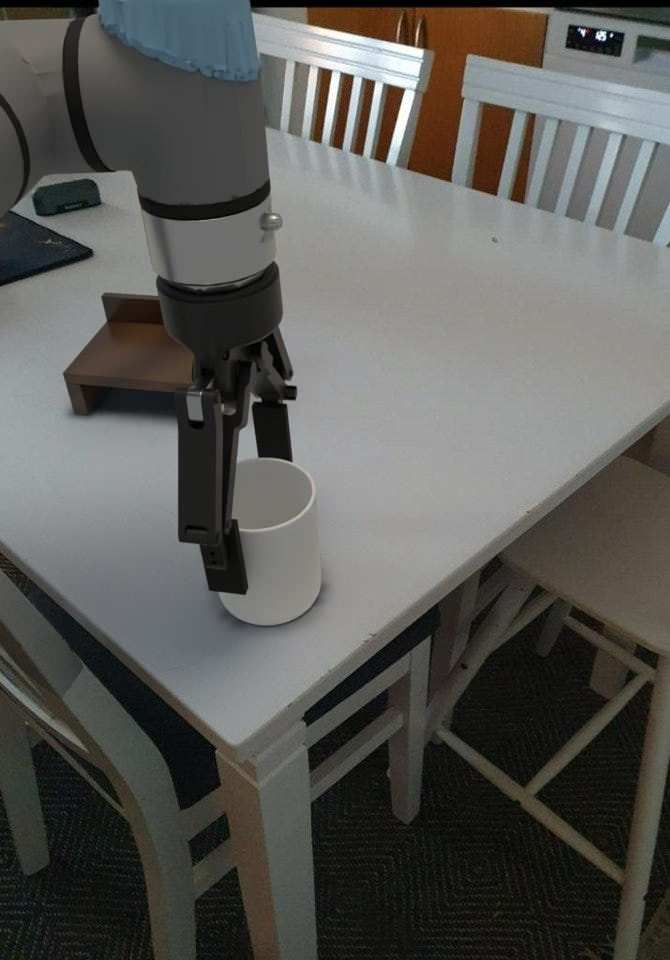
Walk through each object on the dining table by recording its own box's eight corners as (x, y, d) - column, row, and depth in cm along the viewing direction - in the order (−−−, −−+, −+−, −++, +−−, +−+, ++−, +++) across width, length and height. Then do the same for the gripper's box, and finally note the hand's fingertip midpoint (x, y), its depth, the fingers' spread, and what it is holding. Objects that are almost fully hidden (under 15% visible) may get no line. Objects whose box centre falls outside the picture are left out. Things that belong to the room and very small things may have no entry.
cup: (255, 646, 60) (240, 548, 54) (177, 558, 68) (156, 463, 61) (342, 594, 64) (339, 497, 58) (260, 516, 72) (248, 422, 65)
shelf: (74, 413, 85) (54, 347, 80) (119, 355, 94) (104, 292, 89) (219, 427, 82) (208, 359, 77) (251, 365, 91) (244, 301, 86)
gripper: (211, 381, 39) (258, 659, 52) (320, 192, 58) (334, 433, 71) (67, 371, 40) (149, 645, 54) (219, 190, 59) (252, 426, 72)
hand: (254, 525), depth 62 cm, fingers open, 13 cm apart
